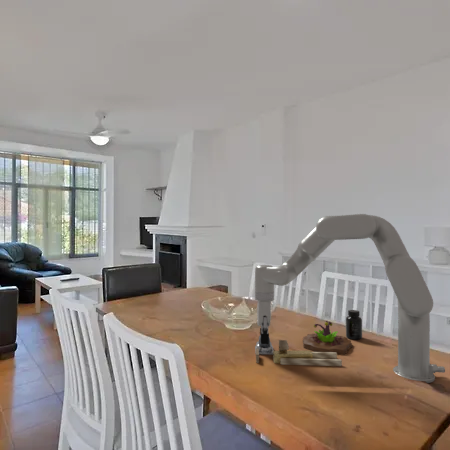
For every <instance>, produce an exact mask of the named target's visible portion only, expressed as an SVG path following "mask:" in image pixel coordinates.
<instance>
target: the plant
mask: <svg viewBox="0 0 450 450" xmlns="http://www.w3.org/2000/svg"><path fill="white" fill-rule="evenodd" d="M324 325H325V327H324V326H323V325H322V324H319V323H315V324H313V327H314V328H317V327H318V326H319V327H320V328H321V329H322V330H321V329H318V331H316V330H314V333H308V334H307V335H305V336H303V338H302V344H303V345H302V347H303V349H306V350H308V351H311V352H336V353H337V355H341V356H342V355H345V354H347V353H348V352H349V350H350V348H351V349H352V347H353V343H352V339H349V338H347V337H346V336H343V335H337V334H338V333H339V331H333V332H332V331H331V330H330V326H331V327H332V326H333V322H331V321H328V320H325V322H324Z"/></svg>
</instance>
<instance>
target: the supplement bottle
mask: <svg viewBox="0 0 450 450" xmlns="http://www.w3.org/2000/svg"><path fill="white" fill-rule="evenodd" d="M347 315H348V316H347V317H345V337H346V338H347V339H348V340H354V341H355V340H357V341H359V340H362V339H363V320H362V319H363V318H362V317H361V316H360V311H359V310H357V309H349V310H348V311H347Z"/></svg>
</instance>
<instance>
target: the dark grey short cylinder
mask: <svg viewBox="0 0 450 450" xmlns="http://www.w3.org/2000/svg"><path fill="white" fill-rule="evenodd" d="M270 339H271V338H270V337H269V344H261V335H260V334H259V336H258V341H259V345H260V346H261V347H262V348H268V347H269V346H270V342H271V340H270Z"/></svg>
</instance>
